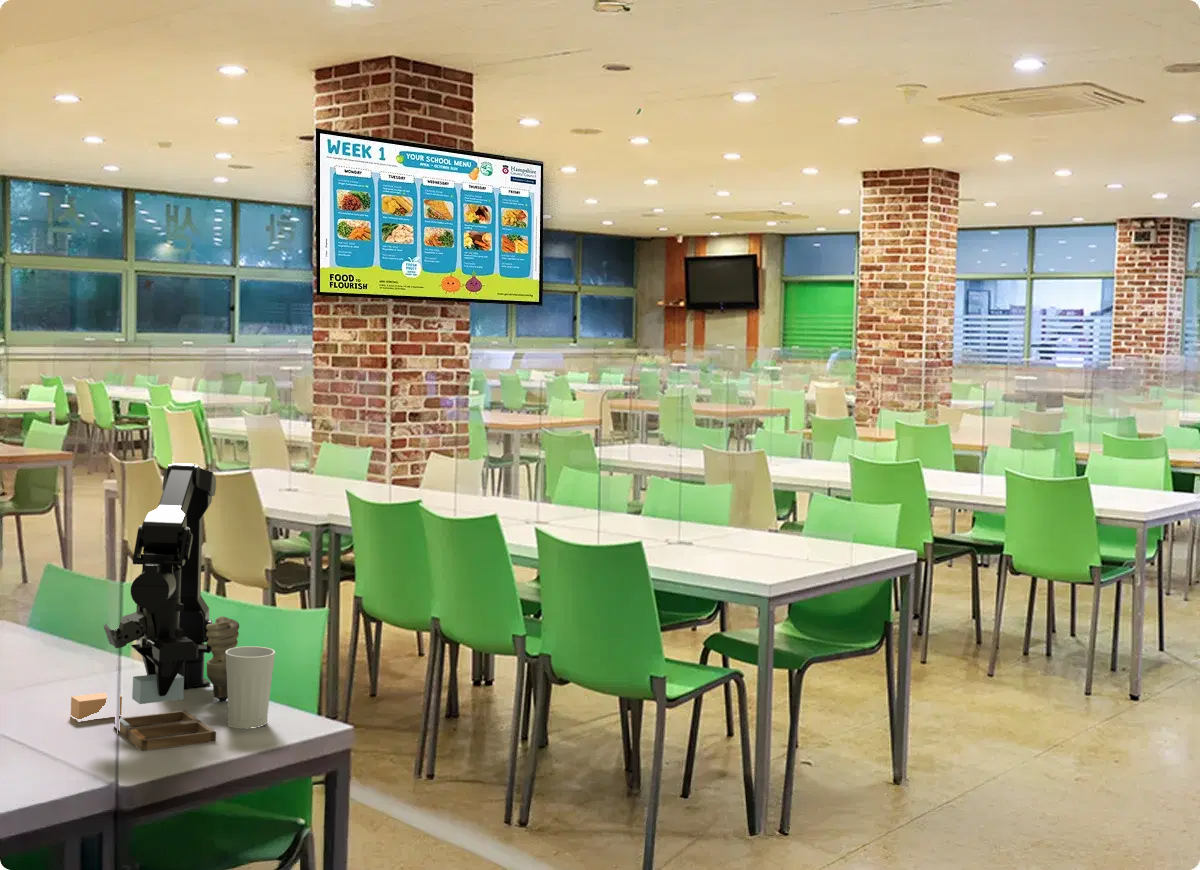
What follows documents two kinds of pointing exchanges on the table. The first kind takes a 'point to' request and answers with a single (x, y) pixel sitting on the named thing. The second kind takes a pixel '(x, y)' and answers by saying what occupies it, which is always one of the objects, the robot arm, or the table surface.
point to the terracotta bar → (88, 704)
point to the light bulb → (220, 653)
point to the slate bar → (155, 689)
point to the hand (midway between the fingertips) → (158, 692)
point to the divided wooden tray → (165, 730)
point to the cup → (248, 685)
